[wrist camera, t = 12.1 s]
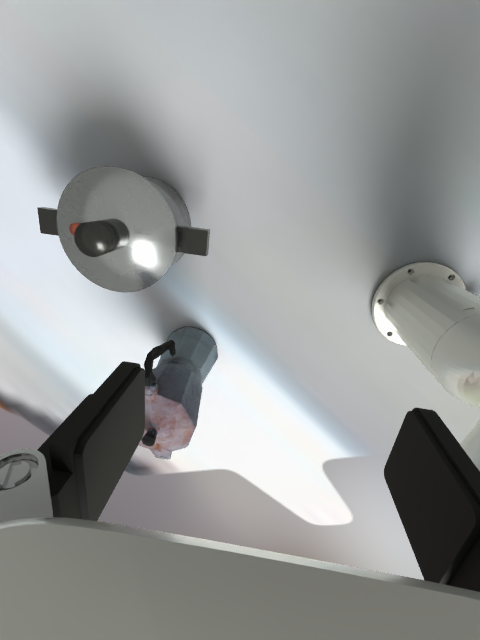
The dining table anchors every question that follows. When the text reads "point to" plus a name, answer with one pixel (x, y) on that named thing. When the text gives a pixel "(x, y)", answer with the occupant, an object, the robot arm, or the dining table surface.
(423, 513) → the robot arm
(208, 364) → the moka pot
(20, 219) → the dining table surface
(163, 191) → the cooker pot
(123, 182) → the lid
